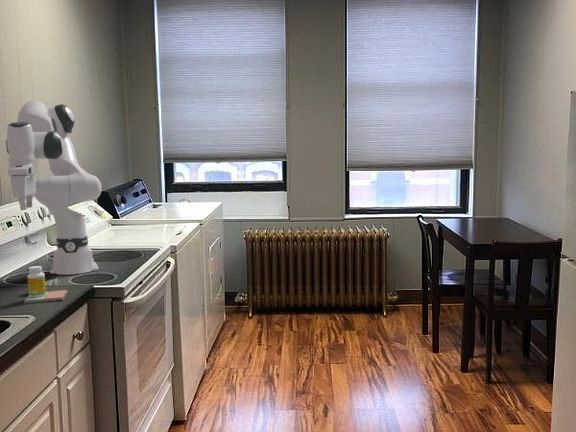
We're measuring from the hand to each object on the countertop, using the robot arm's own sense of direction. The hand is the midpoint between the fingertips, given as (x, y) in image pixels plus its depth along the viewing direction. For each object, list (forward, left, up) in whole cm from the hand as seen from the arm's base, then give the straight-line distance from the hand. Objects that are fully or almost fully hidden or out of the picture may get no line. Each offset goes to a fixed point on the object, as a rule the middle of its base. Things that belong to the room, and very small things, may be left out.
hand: (26, 208), depth 219 cm
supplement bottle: (+14, +4, -28) cm, 32 cm away
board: (+14, +7, -29) cm, 33 cm away
